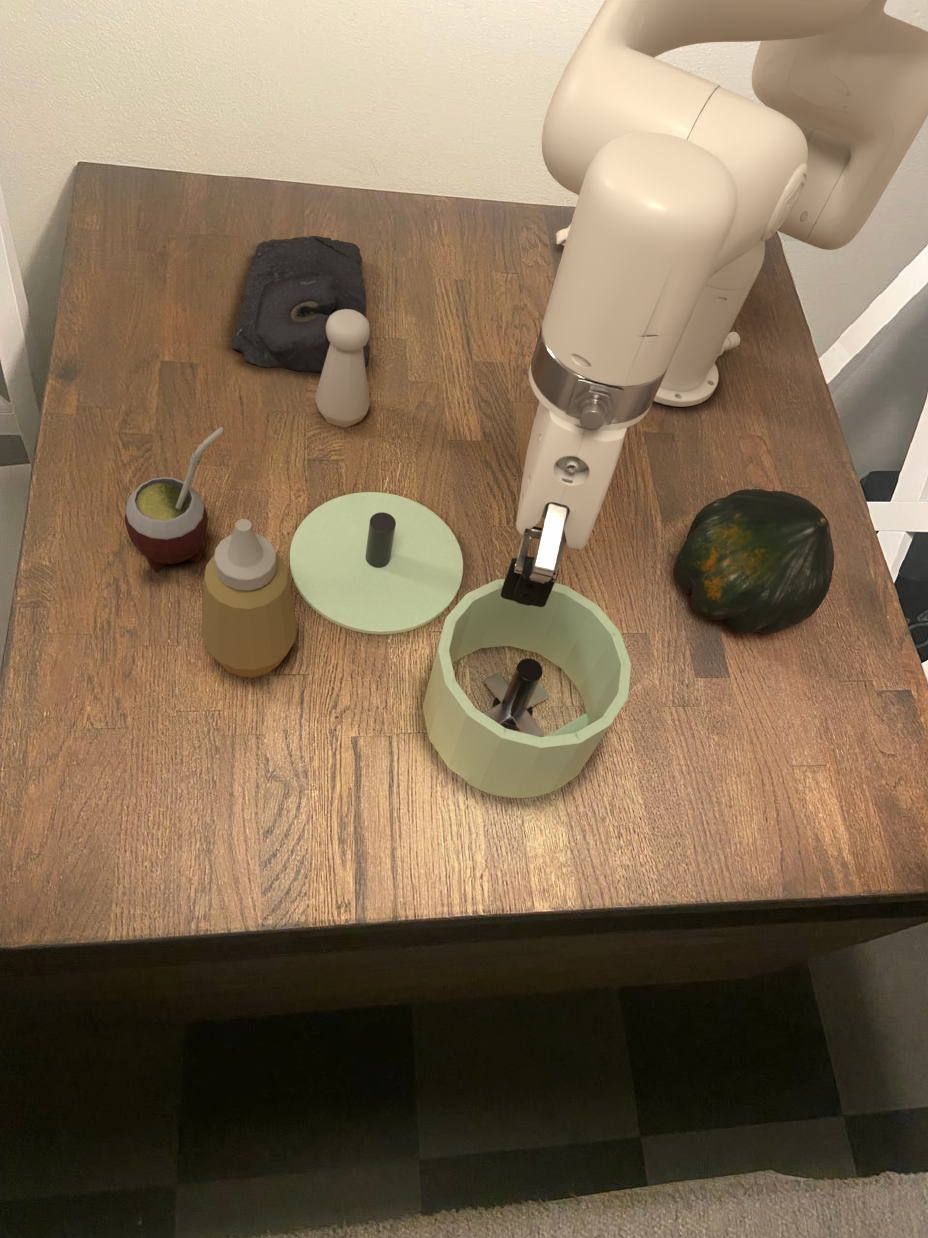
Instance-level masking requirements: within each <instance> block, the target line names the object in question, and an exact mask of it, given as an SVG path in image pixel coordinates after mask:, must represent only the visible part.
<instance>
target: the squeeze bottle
mask: <svg viewBox="0 0 928 1238" xmlns="http://www.w3.org/2000/svg"><path fill="white" fill-rule="evenodd" d="M202 593H203V595H202V610H201V612H202V613H201V630H200V631H201V632H200V635H201V638H202V641H203V644H204V647H205V649H206V651H207V652H208V653H209V654H210V655H211V656H212V657H213V658H214V659H215V660H216V662H218V664H220V665H221V666H222V668H224V669H225V670H226V671H227V672H228V673H230V674H233V675H235V676H237V677H239V678H240V677H241V678H258V677H261V676H264V675H268V674H269V673H271V672H272V671H274V670H275V669H277V667H279V665H280V664H281V663H282V661H283V660H284V659H285V657H286V656H287V655H288V653H289V651H290V650H291V648H292V647H293V645H294V643H295V642H296V640H297V639H296V637H297V626H298V625H297V618H296V612H295V606H294V599H293V594H292V593H293V592H292V587H291V582H290V576H289V570H288V568H287V566H286V564H285V561H284V559H283V558H282V556H280V555H279V554H278V553H277V552H276V549H275V547H274V544H273V543H271V541H270V540H269V539H267V538H266V537H265V536H263V535H261V534H258V533H256V532H255V530H254V527H253V523H252V522H251V521H250V519H246V518H241V519H238V520H237V521H236V522H235V525H234V528H233V532H232V534H229V535H228V536H226V537H224V538H223V539H221V540H220V541H219V543H218V545H217V546H216V547H215V549H214V554H213V555H212V556H211V558H210V559H209V561H208V562H207V564H205V571H204V576H203V592H202Z"/></svg>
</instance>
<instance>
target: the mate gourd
mask: <svg viewBox="0 0 928 1238" xmlns="http://www.w3.org/2000/svg"><path fill="white" fill-rule="evenodd" d="M224 431H225V430H224V428H223V427H222V425H221V426H219V428H217V429H215V430H214V432H213V433H211V434H210V435H209V436H207V438H205V439H204V440H203V441H202V442H201V443H200V445H199V446H198V447H196V449H195V451H193V452H192V454H191V456H190V458H189V466H188V469H187V472H186V475H185V478H184V481H182V480H180V479H178V478H175V477H165V476H161V477H156V478H150V479H148V480H147V481H145V482H143V483H141V484H140V485H138V486H137V487H136V489H135V490H134V491H133V492H132V493H131V494H130V496H129V497H128V499H127V503H126V506H125V512H124V513H125V515H124V524H125V528H126V531H127V534H128V537H129V539H130V542H131V543H132V545H133V546H135V547H136V548H137V550H138V551H139V552H140V554H142V555H143V556H144V557H145V558H146V559H147V560H146V561H147V563H148V564H149V566H150V567H151V568H152V570H153V572H154V573H156V574H157V573H159V572H160V571H161V570H162V569H163V567H164V566H166V564H167V565H168V564H170V565H173V564H178V563H182V562H185V561H186V560H187V561H188V562H192V563H195V564H200V562H201V558H202V556H203V553H204V550H205V549H204V547H205V541H206V537H207V530H208V525H209V524H208V523H209V517H208V511H207V509H206V506H205V504H204V501H203V499H202V496H201V494H200V493H199V492H198V491H196V489H194V488H193V486H192V485H191V484H192V481H193V478H194V476H195V473H196V469H197V466H199V465H200V462H201V460H202V457H203V456H202V455H203V453H204V452H205V451H206V450H207V448H208V447H209V446H210V445H211V444H212V443H213V442H214V441H215V440H216V439H218V438H219V436H220V435H222V433H224Z"/></svg>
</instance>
